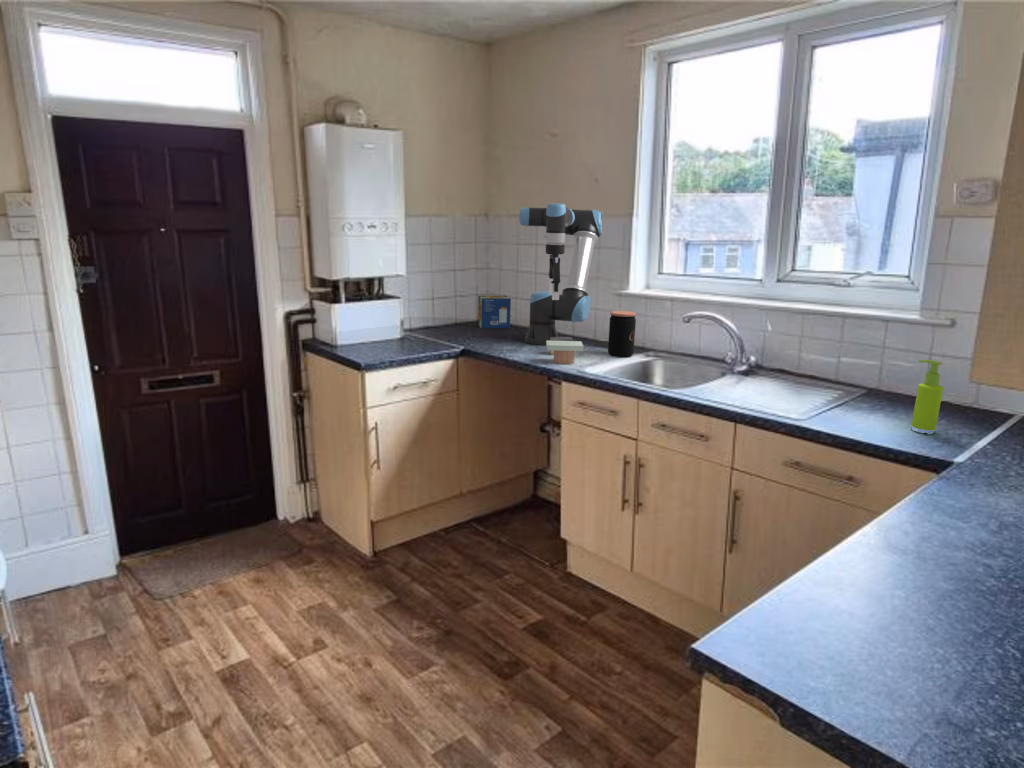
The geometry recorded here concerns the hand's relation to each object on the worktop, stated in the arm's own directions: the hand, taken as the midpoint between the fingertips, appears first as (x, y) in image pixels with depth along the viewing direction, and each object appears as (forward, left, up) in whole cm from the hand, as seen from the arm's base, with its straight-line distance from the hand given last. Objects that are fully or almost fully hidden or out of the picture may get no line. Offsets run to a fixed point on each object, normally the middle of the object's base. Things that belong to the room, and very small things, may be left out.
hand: (553, 297), depth 272 cm
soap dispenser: (+93, +98, -24) cm, 138 cm away
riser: (-4, +4, -24) cm, 25 cm away
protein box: (-71, -26, -24) cm, 79 cm away
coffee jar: (-4, +29, -24) cm, 38 cm away
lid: (+12, +4, -19) cm, 23 cm away
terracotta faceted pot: (+12, +4, -24) cm, 27 cm away
